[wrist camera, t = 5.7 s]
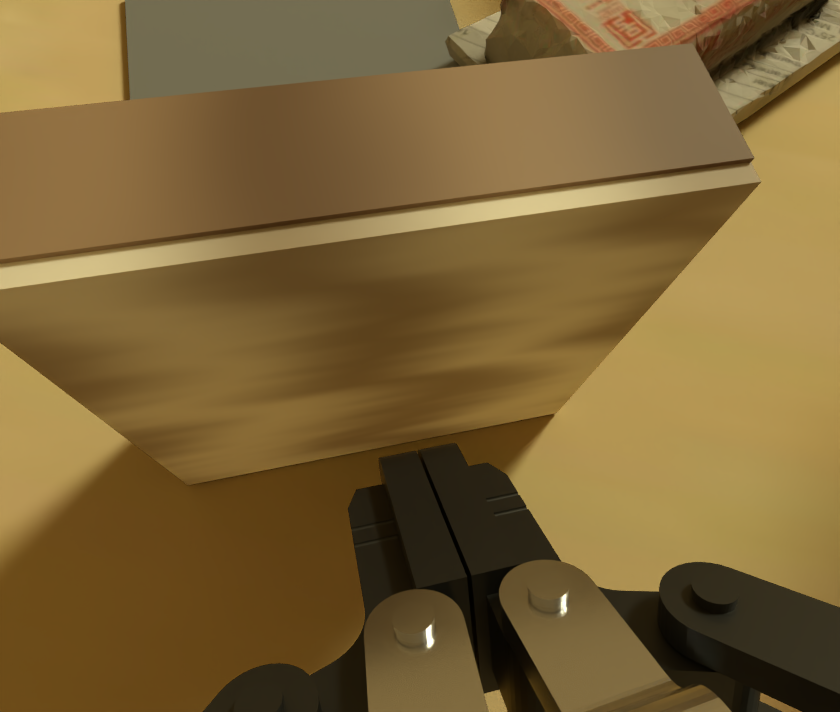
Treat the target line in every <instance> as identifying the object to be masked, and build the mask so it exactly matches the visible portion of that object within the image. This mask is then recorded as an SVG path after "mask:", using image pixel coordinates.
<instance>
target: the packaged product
mask: <svg viewBox="0 0 840 712" xmlns="http://www.w3.org/2000/svg"><path fill="white" fill-rule="evenodd" d="M500 6H501V11H499V12H497V13H494V14H492V15H490V16H488V17H486V18H484V19H482V20H480V21H478V22H476V23H474V24H471V25H469V26H467V27H465V28H463V29H461V30H459V31H457V32H455V33H453V34H451V35H449V36H448V37H447V39H446V41H445V43H446V46H447V49H448V52H449V55H450V56H451V57H452V58H453V59H454V60H455V61H456V62H457V63H458V64H459V65H460V66H471V65H481V64H491V63H501V62H511V61H521V60H531V59H541V58H551V57H561V56H571V55H581V54H590V53H600V52H610V51H620V50H630V49H640V48H650V47H660V46H670V45H680V44H690V43H693V45H694V47H695V49H696V51H697V53H698V54H699V56H700V58H701V60H702V62H703V64H704V66H705V67H706V69H707V71H708V73H709V75H710V77H711V79H712V80H713V82H714V84H715V86H716V88H717V90H718V91H719V93H720V95H721V97H722V99H723V101H724V103H725V104H726V106H727V108H728V110H729V112H730V114H731V116H732V117H733V119H734V121H735V123H736V124H738V123H740V122H741V121H743V120H745V119H746V118H748V117H749V116H751V115H752V114H753V113H755V112H756V111H758V110H759V109H760V108H762V107H763V106H765V105H766V104H767V103H769V102H770V101H772V100H773V99H774V98H776V97H777V96H779V95H780V94H781V93H783V92H784V91H786V90H787V89H788V88H790V87H791V86H793V85H794V84H795V83H797V82H798V81H800V80H801V79H802V78H804V77H805V76H807V75H808V74H809V73H811V72H812V71H814V70H815V69H816V68H818V67H819V66H821V65H822V64H823V63H825V62H826V61H828V60H829V59H830V58H832V57H833V56H834V55H836V54H837V53H839V52H840V0H502V2H501V4H500Z"/></svg>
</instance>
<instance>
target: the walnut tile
mask: <svg viewBox="0 0 840 712" xmlns="http://www.w3.org/2000/svg"><path fill="white" fill-rule="evenodd" d="M753 159H754V156H753V155H752V153H751V151H750V149H749V147H748V145H747V143H746V142H745V140H744V138H743V136H742V134H741V132H740V130H739V129H738V127H737V125H736V123H735V121H734V119H733V117H732V116H731V114H730V112H729V110H728V108H727V106H726V104H725V103H724V101H723V99H722V97H721V95H720V93H719V91H718V90H717V88H716V86H715V84H714V82H713V80H712V79H711V77H710V75H709V73H708V71H707V69H706V67H705V66H704V64H703V62H702V60H701V58H700V56H699V54H698V53H697V51H696V49H695V47H694V45H693V43H690V44H680V45H670V46H660V47H650V48H640V49H630V50H620V51H610V52H600V53H590V54H581V55H571V56H561V57H551V58H541V59H531V60H521V61H511V62H501V63H491V64H481V65H471V66H461V67H451V68H442V69H432V70H422V71H412V72H402V73H392V74H382V75H372V76H362V77H352V78H342V79H332V80H322V81H312V82H303V83H293V84H283V85H273V86H263V87H253V88H243V89H233V90H223V91H213V92H203V93H193V94H183V95H173V96H164V97H154V98H144V99H134V100H124V101H114V102H104V103H94V104H84V105H74V106H64V107H54V108H44V109H34V110H25V111H15V112H5V113H0V343H1V344H3V345H4V346H5V347H7V348H8V349H9V350H11V351H12V352H13V353H14V354H16V355H17V356H18V357H20V358H21V359H22V360H24V361H25V362H26V363H28V364H29V365H30V366H32V367H33V368H34V369H36V370H37V371H38V372H39V373H41V374H42V375H43V376H45V377H46V378H47V379H49V380H50V381H51V382H53V383H54V384H55V385H57V386H58V387H59V388H61V389H62V390H63V391H64V392H66V393H67V394H68V395H70V396H71V397H72V398H74V399H75V400H76V401H78V402H79V403H80V404H82V405H83V406H84V407H86V408H87V409H88V410H89V411H91V412H92V413H93V414H95V415H96V416H97V417H99V418H100V419H101V420H103V421H104V422H105V423H107V424H108V425H109V426H111V427H112V428H113V429H114V430H116V431H117V432H118V433H120V434H121V435H122V436H124V437H125V438H126V439H128V440H129V441H130V442H132V443H133V444H134V445H136V446H137V447H138V448H139V449H141V450H142V451H143V452H145V453H146V454H147V455H149V456H150V457H151V458H153V459H154V460H155V461H157V462H158V463H159V464H161V465H162V466H163V467H165V468H166V469H167V470H168V471H170V472H171V473H172V474H174V475H175V476H176V477H178V478H179V479H180V480H182V481H183V482H184V483H186V484H187V485H192V484H197V483H202V482H207V481H212V480H217V479H222V478H227V477H232V476H238V475H243V474H248V473H253V472H258V471H263V470H268V469H273V468H279V467H284V466H289V465H294V464H299V463H304V462H309V461H314V460H320V459H325V458H330V457H335V456H340V455H345V454H350V453H355V452H360V451H366V450H371V449H376V448H381V447H386V446H391V445H396V444H401V443H407V442H412V441H417V440H422V439H427V438H432V437H437V436H442V435H448V434H453V433H458V432H463V431H468V430H473V429H478V428H483V427H489V426H494V425H499V424H504V423H509V422H514V421H519V420H524V419H529V418H535V417H540V416H545V415H550V414H555V413H557V412H558V411H559V410H560V409H561V408H562V406H563V405H564V404H565V403H566V402H567V401H568V400H569V398H570V397H571V396H572V395H573V394H574V393H575V392H576V391H577V389H578V388H579V387H580V386H581V385H582V384H583V383H584V382H585V380H586V379H587V378H588V377H589V376H590V375H591V374H592V372H593V371H594V370H595V369H596V368H597V367H598V366H599V365H600V363H601V362H602V361H603V360H604V359H605V358H606V357H607V356H608V354H609V353H610V352H611V351H612V350H613V349H614V348H615V346H616V345H617V344H618V343H619V342H620V341H621V340H622V339H623V337H624V336H625V335H626V334H627V333H628V332H629V331H630V330H631V328H632V327H633V326H634V325H635V324H636V323H637V322H638V320H639V319H640V318H641V317H642V316H643V315H644V314H645V313H646V311H647V310H648V309H649V308H650V307H651V306H652V305H653V304H654V302H655V301H656V300H657V299H658V298H659V297H660V296H661V294H662V293H663V292H664V291H665V290H666V289H667V288H668V287H669V285H670V284H671V283H672V282H673V281H674V280H675V279H676V278H677V276H678V275H679V274H680V273H681V272H682V271H683V270H684V268H685V267H686V266H687V265H688V264H689V263H690V262H691V261H692V259H693V258H694V257H695V256H696V255H697V254H698V253H699V252H700V250H701V249H702V248H703V247H704V246H705V245H706V244H707V242H708V241H709V240H710V239H711V238H712V237H713V236H714V235H715V233H716V232H717V231H718V230H719V229H720V228H721V227H722V226H723V224H724V223H725V222H726V221H727V220H728V219H729V218H730V216H731V215H732V214H733V213H734V212H735V211H736V210H737V209H738V207H739V206H740V205H741V204H742V203H743V202H744V201H745V200H746V198H747V197H748V196H749V195H750V194H751V193H752V192H753V190H754V189H755V188H756V187H757V186H758V185H759V184H760V183H761V180H760V178H759V177H758V175H757V173H756V171H755V169H754V167H753V165H752V163H751V161H752V160H753Z"/></svg>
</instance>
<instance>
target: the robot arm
mask: <svg viewBox="0 0 840 712" xmlns="http://www.w3.org/2000/svg"><path fill="white" fill-rule="evenodd" d="M379 468H380V475H381V481H382V485H377V486H372V487H367V488H362V489H358V490H356V492H355V494H354V496H353V498H352V501H351V503H350V505H349V507H348V512H349V518H350V524H351V529H352V535H353V541H354V547H355V553H356V559H357V565H358V571H359V577H360V583H361V589H362V595H363V601H364V607H365V622H364V626H363V629H362V631H361V633H360V635H359V637H358V639H357V640H356V642H355V643H354V644H353V646H352V647H351V648H350V649H349V650H348V651H347V652H346V653H345V654H344V655H342V656H341V657H340V658H339V659H337V660H336V661H334V662H333V663H331V664H329V665H328V666H326V667H324V668H322V669H320V670H319V671H317V672H315V673H313V674H312V675H310V676H309V675H308V674H307V673H306V672H305V671H303V670H302V669H300V668H298V667H296V666H292V665H289V664H280V663H279V664H268V665H263V666H259V667H256V668H253V669H251V670H249V671H247V672H245V673H243V674H241V675H239V676H238V677H236V678H235V679H233V680H232V681H231V682H230V683H228V684H227V685H226V686H225V687H224V688H223V689H222V690H221V691H220V692H219V693H218V694H217V696H216V697H215V698H214V699H213V700H212V702H211V703H210V704H209V705H208V706H207V707H206V709H205V710H204V711H203V712H489V711H488V707H487V704H486V700H485V696H484V693H488V692H491V691H495V690H499V689H500V692H501V695H502V697H503V700H504V702H505V705H506V708H507V712H782V711H780V710H778V709H775V708H773V707H771V706H769V705H767V704H765V703H763V702H761V701H759V700H760V693H763V694H766V695H768V696H770V697H772V698H774V699H776V700H778V701H781V702H783V703H785V704H787V705H789V706H791V707H793V708H796V709H798V710H800V711H802V712H840V608H839V607H837V606H834V605H831V604H828V603H826V602H823V601H820V600H817V599H815V598H812V597H809V596H806V595H803V594H801V593H798V592H795V591H792V590H790V589H787V588H784V587H781V586H779V585H776V584H773V583H770V582H768V581H765V580H762V579H759V578H757V577H754V576H751V575H748V574H745V573H743V572H740V571H737V570H734V569H732V568H729V567H726V566H722V565H719V564H714V563H706V562H692V563H685V564H682V565H678V566H676V567H674V568H672V569H670V570H669V571H668V572H667V573H666V574H665V575H664V576H663V577H662V580H661V582H660V587H659V592H649V591H618V590H610V589H604V588H601V587H597V586H596V584H595V583H594V582H593V581H592V579H591V578H590V577H589V576H588V575H587V574H586V573H584V572H583V571H582V570H580V569H578V568H577V567H575V566H573V565H570V564H568V563H564V562H561V560H560V559H559V557H558V555H557V554H556V552H555V551H554V549H553V548H552V546H551V544H550V543H549V541H548V540H547V538H546V536H545V535H544V533H543V532H542V530H541V528H540V527H539V525H538V524H537V522H536V520H535V519H534V517H533V516H532V514H531V512H530V511H529V509H527V508H526V505H525V503H524V501H523V500H522V498H521V497H520V495H518V492H517V490H516V489H515V487H514V485H513V484H512V482H511V481H510V479H509V477H508V476H507V475H506V474H505V473H503V472H502V471H500V470H498V469H497V468H495V467H494V466H492V465H491V464H489V463H482V464H478V465H473V466H468V464H467V463H466V461H465V459H464V457H463V455H462V453H461V451H460V449H459V448H458V446H457V444H456V443H451V444H446V445H441V446H436V447H431V448H426V449H421V450H418V454H417V452H416V451H412V452H407V453H402V454H397V455H392V456H387V457H382V458H379Z"/></svg>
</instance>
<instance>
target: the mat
mask: <svg viewBox="0 0 840 712" xmlns="http://www.w3.org/2000/svg"><path fill="white" fill-rule="evenodd" d="M125 10H126V30H127V50H128V69H129V89H130V100H134V99H144V98H154V97H164V96H173V95H183V94H193V93H203V92H213V91H223V90H233V89H243V88H253V87H263V86H273V85H283V84H293V83H303V82H312V81H322V80H332V79H342V78H352V77H362V76H372V75H382V74H392V73H402V72H412V71H422V70H432V69H442V68H451V67H461V66H460V65H459V64H458V63H457V62H456V61H455V60H454V59H453V58H452V57H451V56H450V55H449V52H448V49H447V46H446V43H445V41H446V39H447V37H448V36H449V35H451V34H453V33H455V32H457V31H459V27H458V24H457V21H456V18H455V15H454V12H453V9H452V6H451V3H450V0H125Z"/></svg>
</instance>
